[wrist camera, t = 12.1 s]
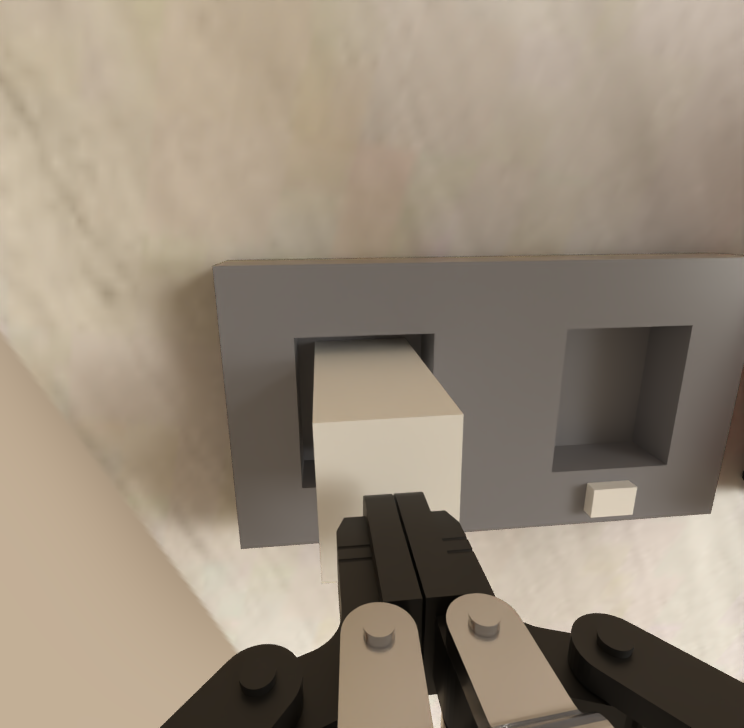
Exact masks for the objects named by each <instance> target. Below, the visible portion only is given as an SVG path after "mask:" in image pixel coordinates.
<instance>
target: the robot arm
mask: <svg viewBox="0 0 744 728" xmlns="http://www.w3.org/2000/svg"><path fill="white" fill-rule="evenodd" d="M336 539H337V573H338V594H339V610H340V625H339V628H338V630H337V631H336V633H335V634H334V636H333V637H332V638H331V639H330V640H329V641H328V642H327V643H325V644H324V645H323V646H321V647H320V648H318V649H316V650H314V651H312V652H309V653H307V654H304V655H302V656H300V657H296V656H295V655H294V654H293V653H292V652H291V651H289V650H288V649H286V648H284V647H282V646H278V645H273V644H262V645H257V646H253V647H250V648H247V649H245V650H243V651H241V652H239V653H238V654H236V655H235V656H233V657H232V658H231V659H230V660H229V661H228V662H227V663H226V664H225V665H224V666H222V668H220V669H219V670H218V671H217V673H215V674H214V675H213V676H212V677H211V678H210V679H209V680H208V681H207V682H206V683H205V684H204V685H203V686H202V687H201V688H200V689H199V690H198V691H197V692H196V693H195V694H194V695H193V696H192V697H191V698H190V699H189V700H188V701H187V702H186V703H185V704H184V705H183V706H182V707H181V708H180V709H179V710H177V711H176V712H175V713H174V715H172V716H171V717H170V718H169V719H168V720H167V721H166V722H165V723H164V724H163V725H162V726H161V727H160V728H433V722H432V716H431V710H430V704H429V697H428V695H433V694H437V695H438V699H439V703H440V707H441V728H744V683H742V682H740V681H739V680H737V679H735V678H733V677H731V676H729V675H727V674H725V673H723V672H722V671H720V670H718V669H716V668H714V667H712V666H710V665H708V664H707V663H705V662H703V661H701V660H699V659H697V658H695V657H693V656H691V655H690V654H688V653H686V652H684V651H682V650H680V649H678V648H676V647H674V646H673V645H671V644H669V643H667V642H665V641H663V640H661V639H659V638H658V637H656V636H654V635H652V634H650V633H648V632H646V631H644V630H642V629H641V628H639V627H637V626H635V625H633V624H631V623H629V622H627V621H625V620H623V619H621V618H618V617H615V616H612V615H608V614H601V613H592V614H586V615H583V616H581V617H580V618H578V619H577V620H576V621H575V622H574V624H573V626H572V630H571V633H567V632H561V631H555V630H550V629H544V628H539V627H535V626H532V625H529V624H526V623H524V622H523V621H522V619H521V618H520V616H519V615H518V613H517V612H516V611H515V610H514V609H513V608H512V607H511V606H510V605H509V604H507V603H506V602H504V601H503V600H501V599H499V598H497V597H495V595H494V593H493V591H492V588H491V586H490V584H489V582H488V580H487V578H486V576H485V574H484V572H483V570H482V568H481V566H480V564H479V562H478V560H477V558H476V556H475V553H474V552H473V551H472V547H471V545H470V543H469V541H468V540H467V539H466V535H465V533H464V531H463V529H462V527H461V525H460V523H459V521H457V520H456V519H455V518H454V517H453V516H451V515H450V514H449V513H448V512H447V511H445V510H442V511H431V510H430V508H429V505H428V503H427V500H426V498H425V496H424V493H423V492H408V493H394V494H393V495H392V494H379V495H364V496H363V516H360V517H346V518H343V520H342V522H341V524H340V526H339V527H338V529H337V531H336Z"/></svg>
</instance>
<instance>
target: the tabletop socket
mask: <svg viewBox="0 0 744 728" xmlns="http://www.w3.org/2000/svg"><path fill="white" fill-rule="evenodd" d="M213 276H214V286H215V296H216V306H217V316H218V326H219V336H220V346H221V356H222V366H223V375H224V385H225V395H226V405H227V415H228V425H229V435H230V445H231V455H232V465H233V475H234V485H235V495H236V505H237V515H238V525H239V535H240V545H241V549H247V548H260V547H273V546H286V545H300V544H313V543H319V528H318V510H317V493H316V476H315V458H314V441H313V424H312V423H313V390H314V358H315V342H322V341H346V340H369V339H393V338H405V339H406V340H407V341H408V343H409V344H410V345H411V347H412V348H413V349H414V350H415V352H416V353H417V354H418V356H419V357H420V358H421V360H422V361H423V362H424V363H425V365H426V366H427V367H428V369H429V370H430V371H431V373H432V374H433V375H434V376H435V378H436V379H437V380H438V382H439V383H440V384H441V386H442V387H443V388H444V389H445V391H446V392H447V393H448V395H449V396H450V397H451V399H452V400H453V401H454V402H455V404H456V405H457V406H458V408H459V409H460V410H461V412H462V413H463V414H464V418H463V443H462V468H461V494H460V519H459V523H460V525H461V527H462V529H463V531H464V532H472V531H486V530H499V529H512V528H525V527H539V526H552V525H565V524H578V523H592V522H605V521H618V520H632V519H645V518H658V517H671V516H685V515H698V514H711V510H712V506H713V501H714V497H715V492H716V488H717V483H718V479H719V474H720V470H721V465H722V460H723V456H724V451H725V447H726V442H727V438H728V433H729V429H730V424H731V420H732V415H733V411H734V406H735V402H736V397H737V393H738V388H739V384H740V379H741V375H742V370H743V366H744V255H731V254H717V253H675V254H609V255H542V256H475V257H408V258H341V259H275V260H227V261H224V262H222V263H219V264H216V265H214V266H213Z"/></svg>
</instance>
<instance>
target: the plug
mask: <svg viewBox="0 0 744 728" xmlns="http://www.w3.org/2000/svg"><path fill="white" fill-rule="evenodd" d="M463 418H464V414H463V413H462V412H461V410H460V409H459V408H458V406H457V405H456V404H455V402H454V401H453V400H452V399H451V397H450V396H449V395H448V393H447V392H446V391H445V389H444V388H443V387H442V386H441V384H440V383H439V382H438V380H437V379H436V378H435V376H434V375H433V374H432V373H431V371H430V370H429V369H428V367H427V366H426V365H425V363H424V362H423V361H422V360H421V358H420V357H419V356H418V354H417V353H416V352H415V350H414V349H413V348H412V347H411V345H410V344H409V343H408V341H407V340H406V339H405V338H393V339H369V340H346V341H322V342H315V358H314V390H313V423H312V424H313V441H314V458H315V476H316V493H317V510H318V528H319V545H320V562H321V580H322V584H326V583H337V582H338V573H337V539H336V531H337V529H338V527H339V526H340V524H341V522H342V520H343V518H346V517H360V516H363V496H364V495H379V494H392V495H393V494H394V493H408V492H423V493H424V496H425V498H426V500H427V503H428V505H429V508H430V510H431V511H442V510H445V511H447V512H448V513H449V514H450V515H451V516H453V517H454V518H455V519H456V520H457V521H459V519H460V494H461V468H462V443H463Z"/></svg>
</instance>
